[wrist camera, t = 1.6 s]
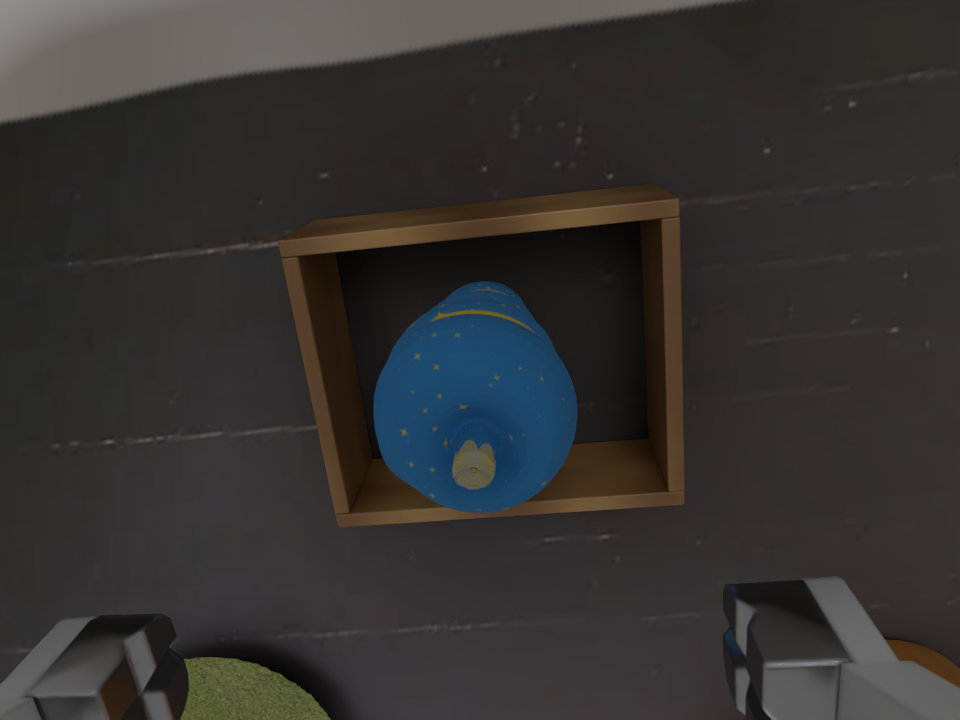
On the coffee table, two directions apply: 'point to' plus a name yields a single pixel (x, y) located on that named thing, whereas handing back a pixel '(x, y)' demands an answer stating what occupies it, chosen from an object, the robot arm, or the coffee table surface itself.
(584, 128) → the coffee table surface
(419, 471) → the ornament
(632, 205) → the wooden box
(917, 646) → the flower pot
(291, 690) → the green flat round disc
